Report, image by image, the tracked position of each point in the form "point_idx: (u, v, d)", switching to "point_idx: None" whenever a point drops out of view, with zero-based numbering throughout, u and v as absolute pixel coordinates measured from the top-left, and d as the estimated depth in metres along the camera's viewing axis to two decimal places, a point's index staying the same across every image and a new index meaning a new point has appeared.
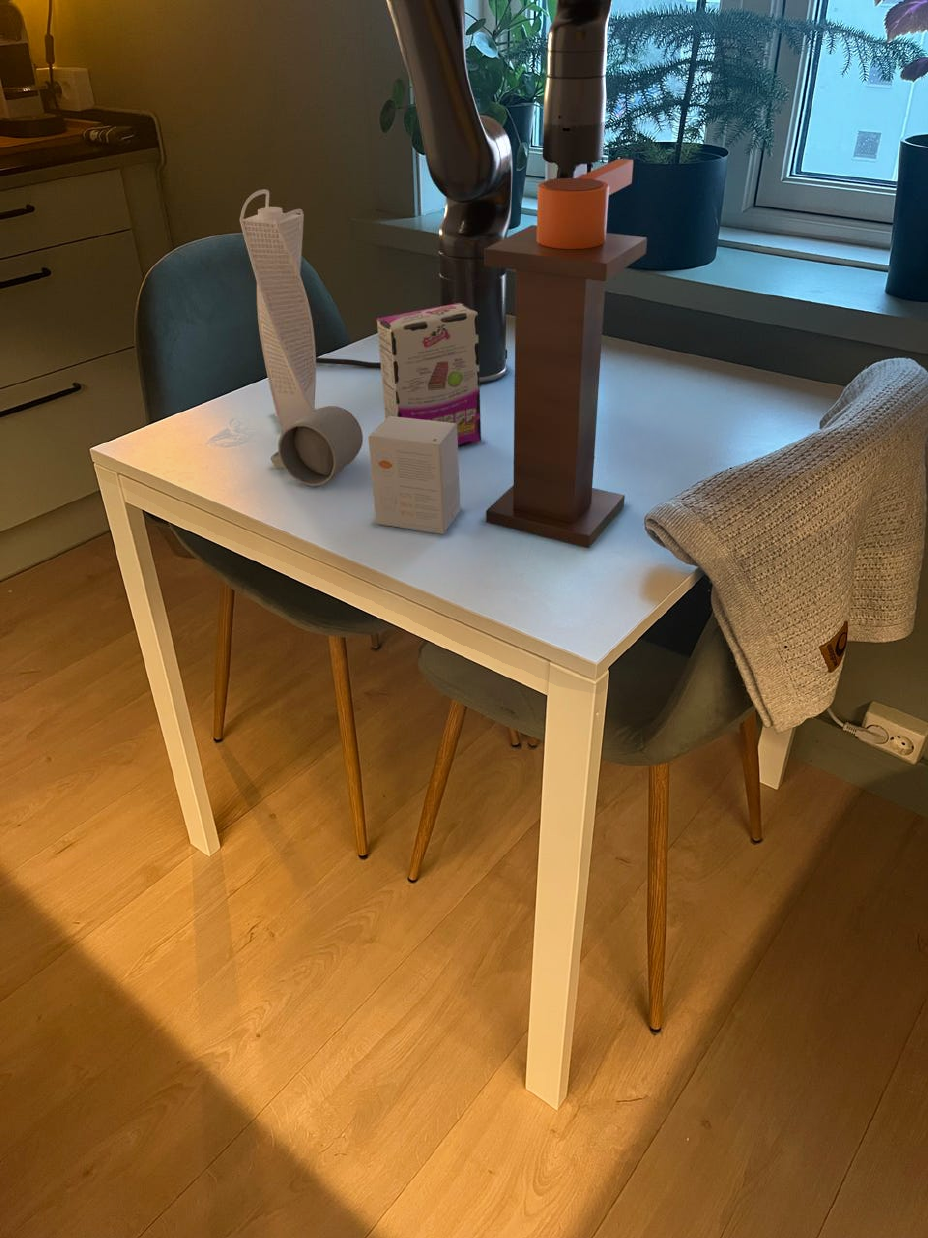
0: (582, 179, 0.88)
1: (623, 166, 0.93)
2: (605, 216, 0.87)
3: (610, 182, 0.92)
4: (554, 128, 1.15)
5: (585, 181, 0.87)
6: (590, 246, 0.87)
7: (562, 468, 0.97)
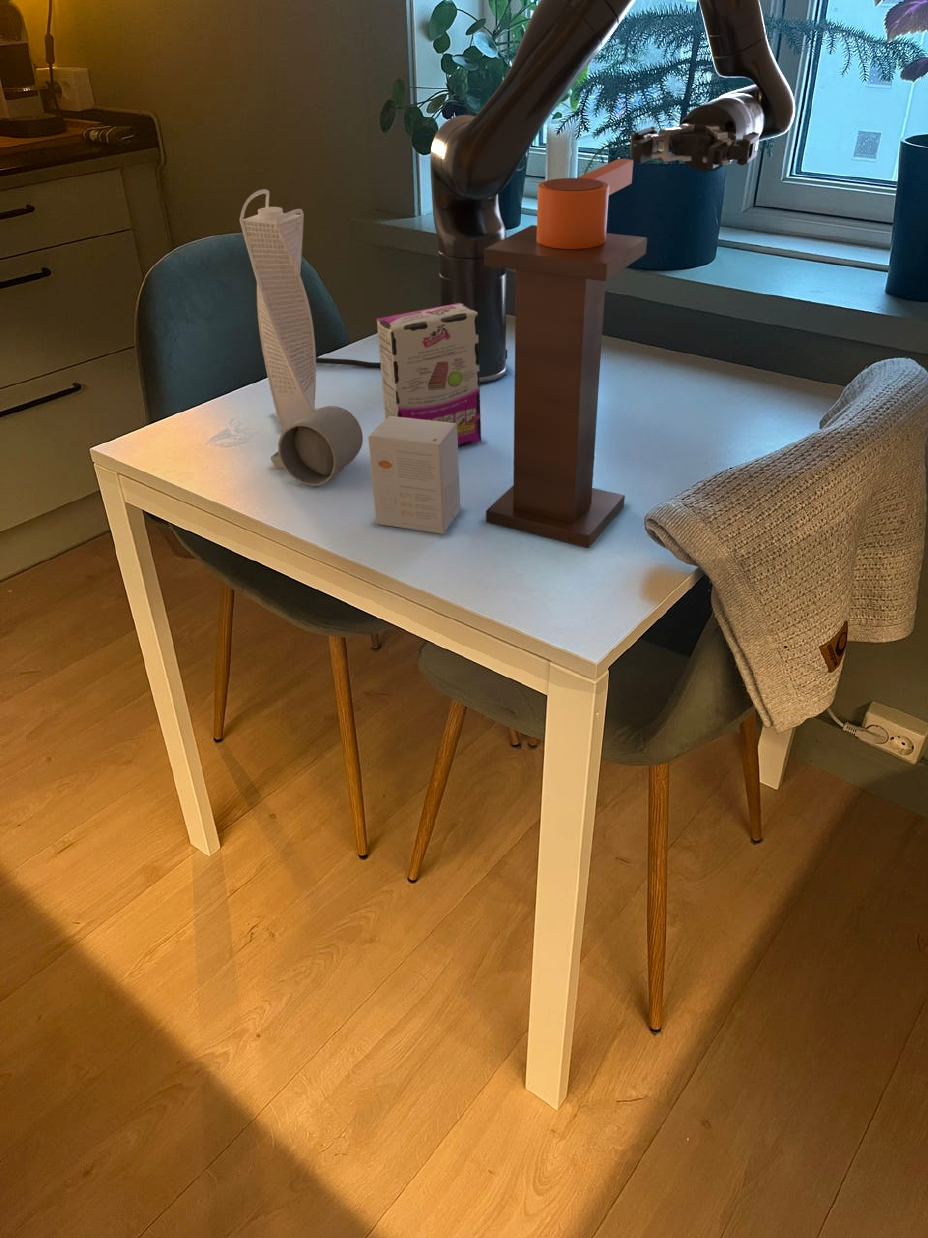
0: (582, 179, 0.88)
1: (623, 166, 0.93)
2: (605, 216, 0.87)
3: (610, 183, 0.92)
4: (744, 121, 1.17)
5: (585, 181, 0.87)
6: (590, 246, 0.87)
7: (562, 468, 0.97)
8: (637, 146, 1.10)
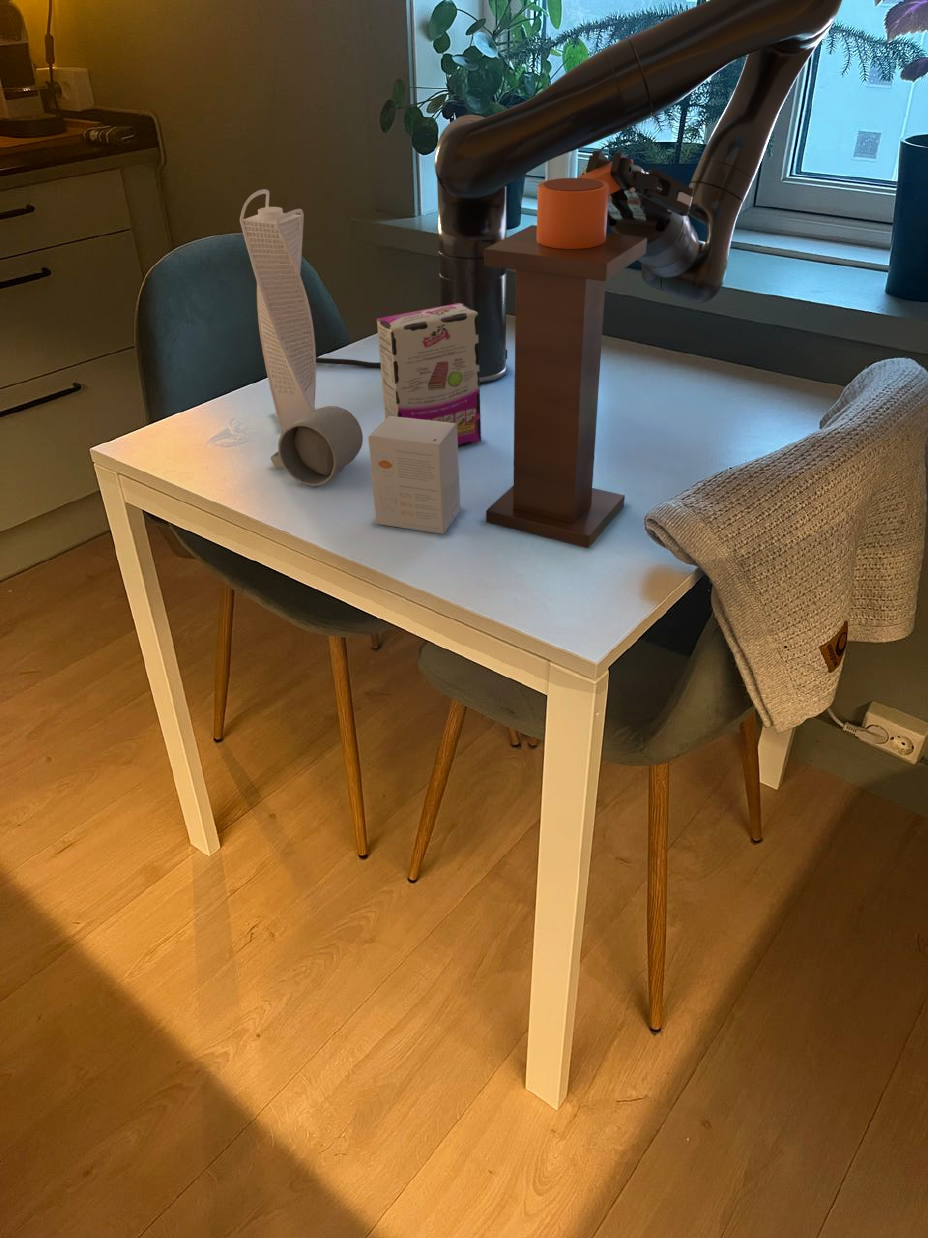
0: (582, 179, 0.88)
1: None
2: (605, 216, 0.87)
3: (610, 182, 0.92)
4: None
5: (585, 181, 0.87)
6: (590, 246, 0.87)
7: (562, 468, 0.97)
8: (594, 152, 0.91)
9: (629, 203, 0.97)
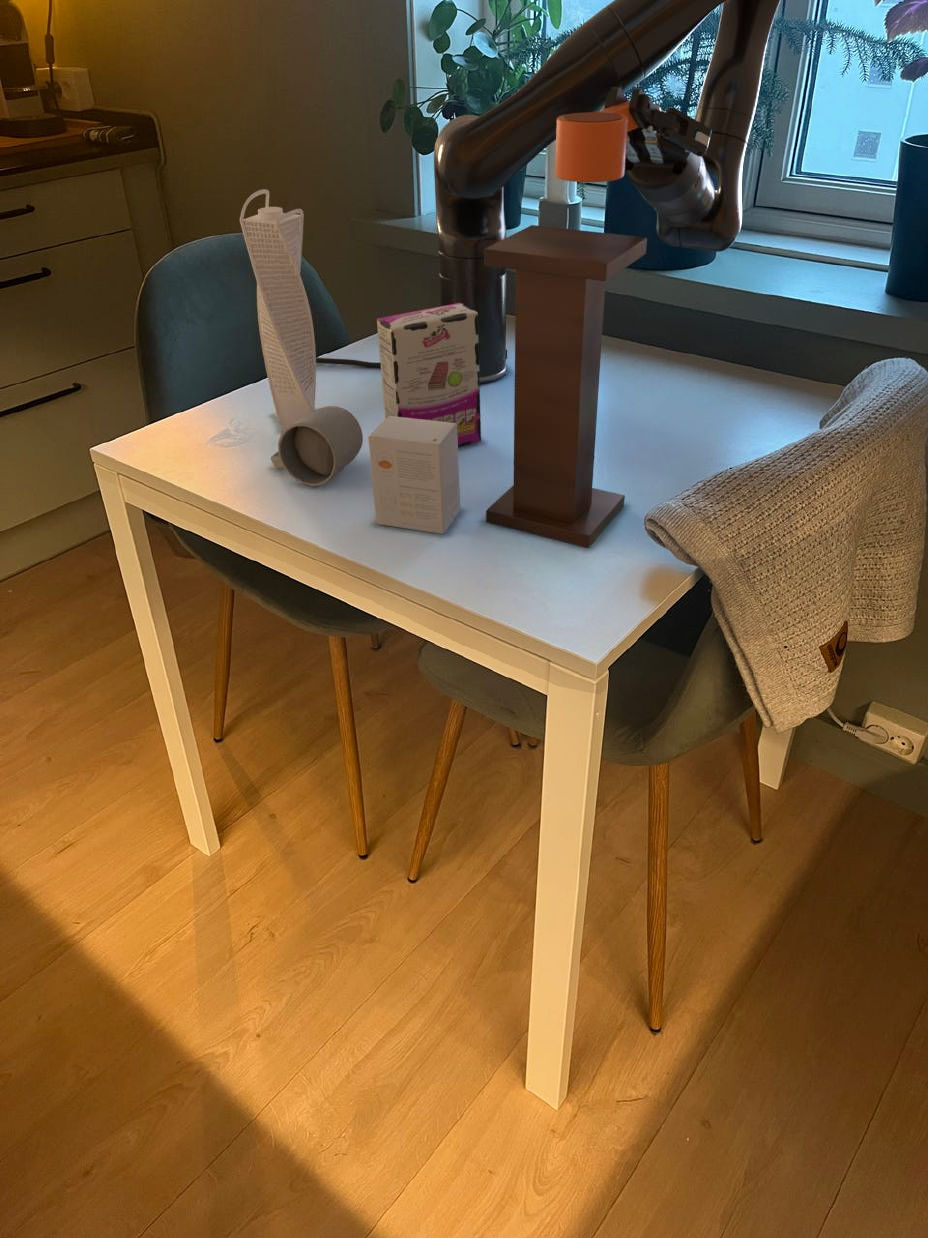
0: (601, 113, 0.88)
1: None
2: (624, 149, 0.87)
3: (628, 119, 0.92)
4: None
5: (604, 114, 0.87)
6: (609, 179, 0.87)
7: (562, 468, 0.97)
8: (613, 89, 0.92)
9: (647, 143, 0.97)
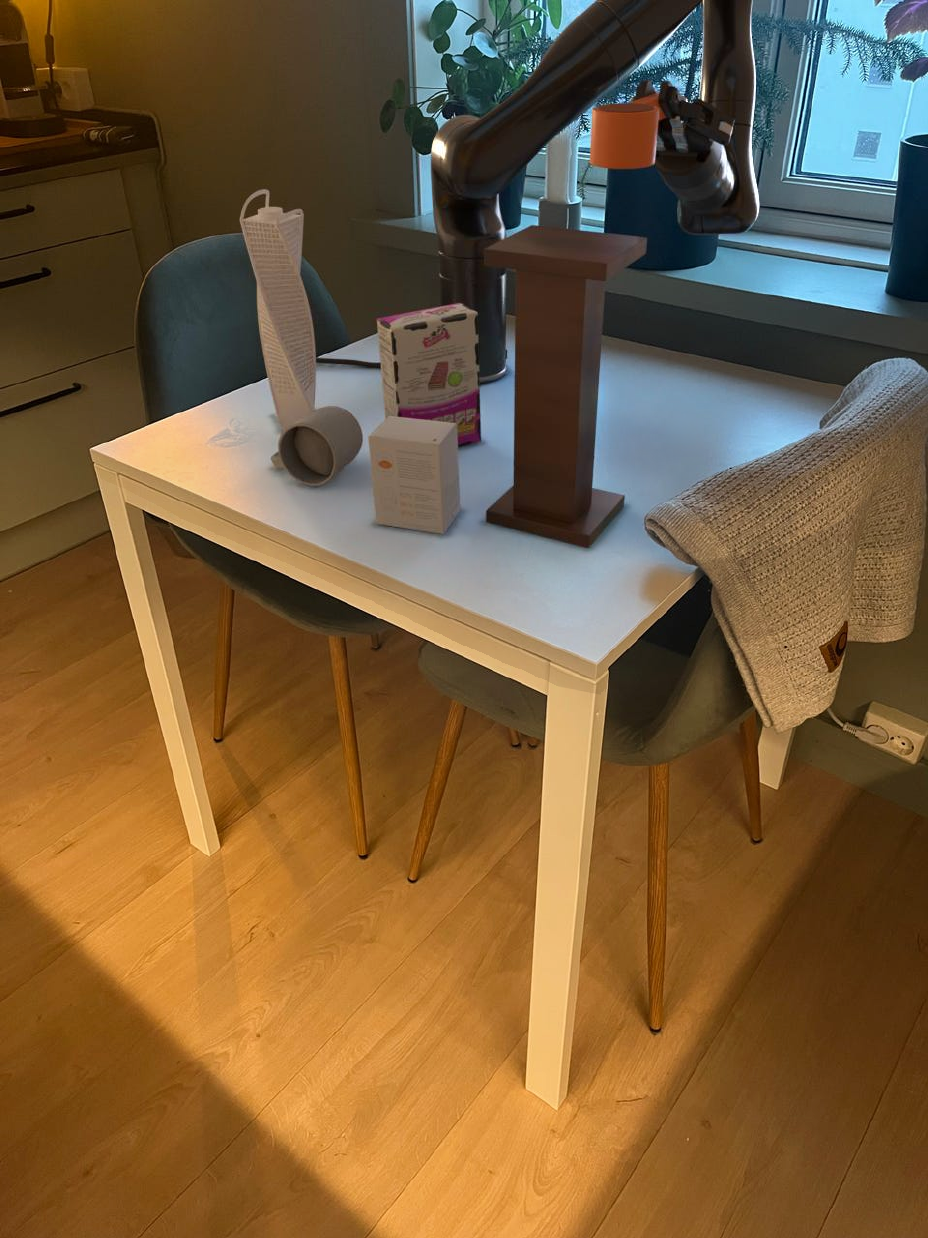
0: (633, 104, 0.93)
1: None
2: (655, 138, 0.92)
3: None
4: None
5: (636, 105, 0.93)
6: (641, 166, 0.92)
7: (562, 468, 0.97)
8: (643, 81, 0.97)
9: (673, 132, 1.02)
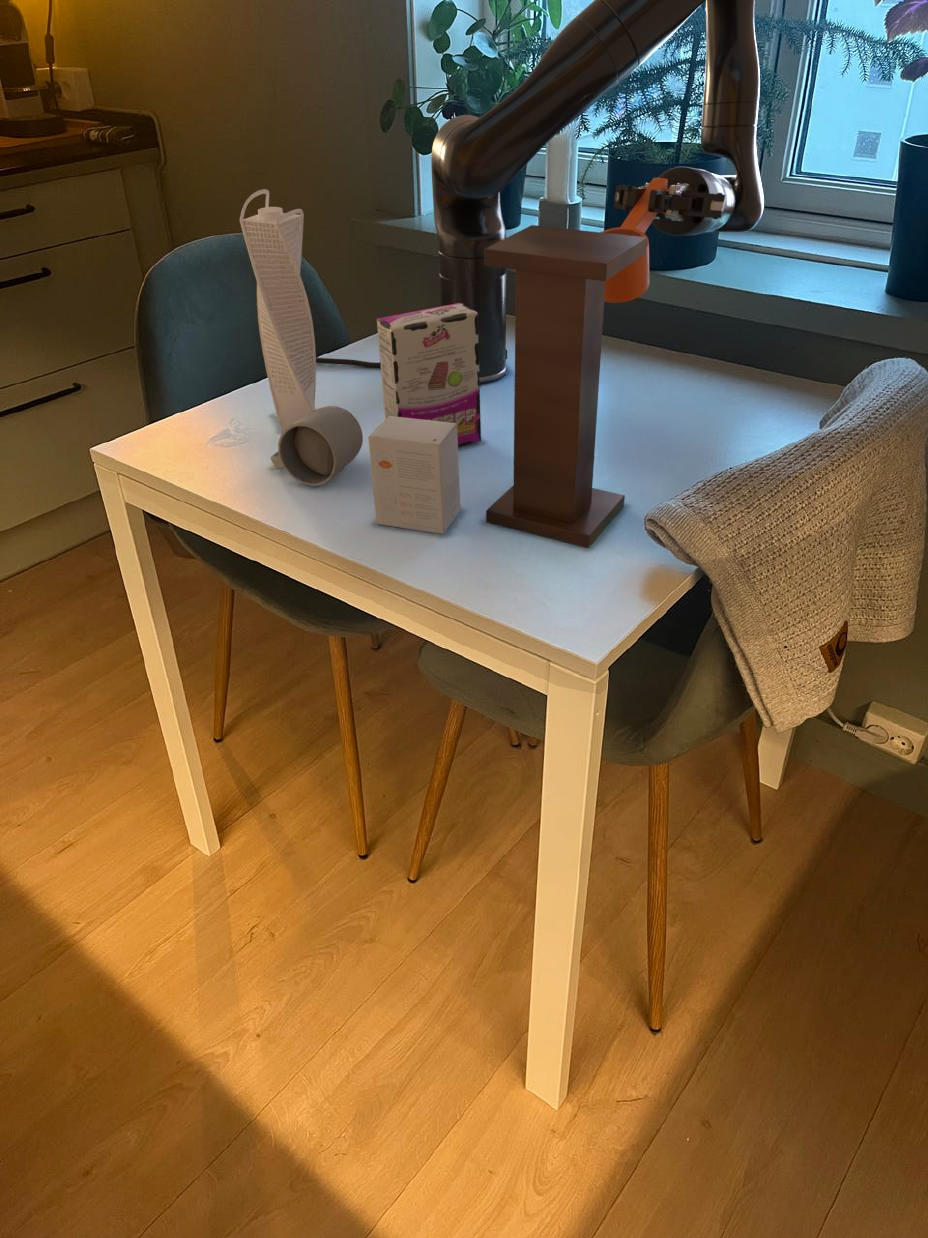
0: (624, 232, 1.00)
1: None
2: (647, 267, 0.99)
3: (648, 217, 1.03)
4: (716, 190, 1.13)
5: None
6: (637, 296, 1.00)
7: (562, 468, 0.97)
8: (632, 191, 1.02)
9: (667, 217, 1.07)
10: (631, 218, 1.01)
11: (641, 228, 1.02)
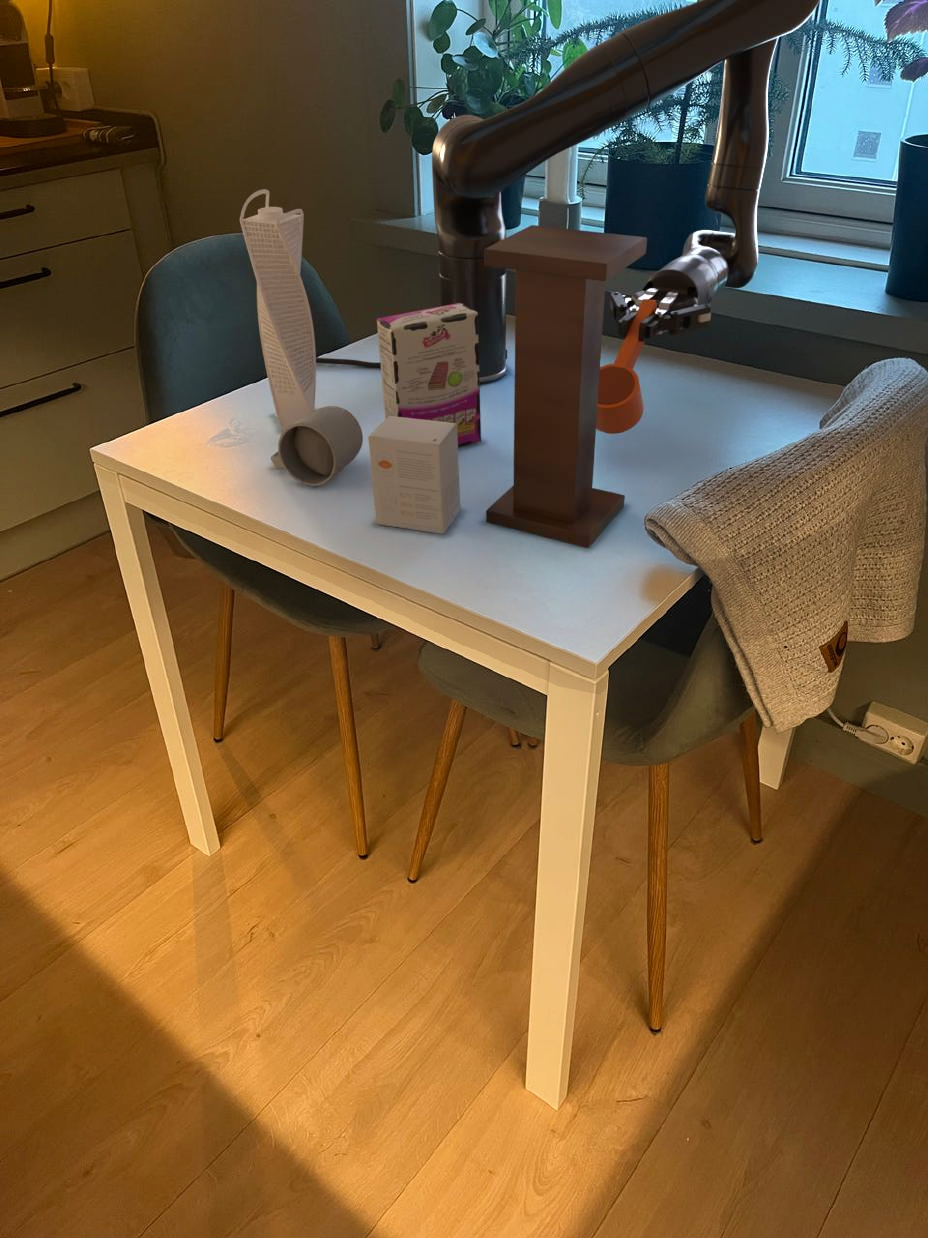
0: (617, 370, 1.10)
1: None
2: (640, 402, 1.10)
3: (640, 344, 1.12)
4: (706, 283, 1.20)
5: (619, 376, 1.09)
6: None
7: (562, 468, 0.97)
8: (622, 323, 1.11)
9: None
10: (623, 352, 1.11)
11: (633, 359, 1.11)
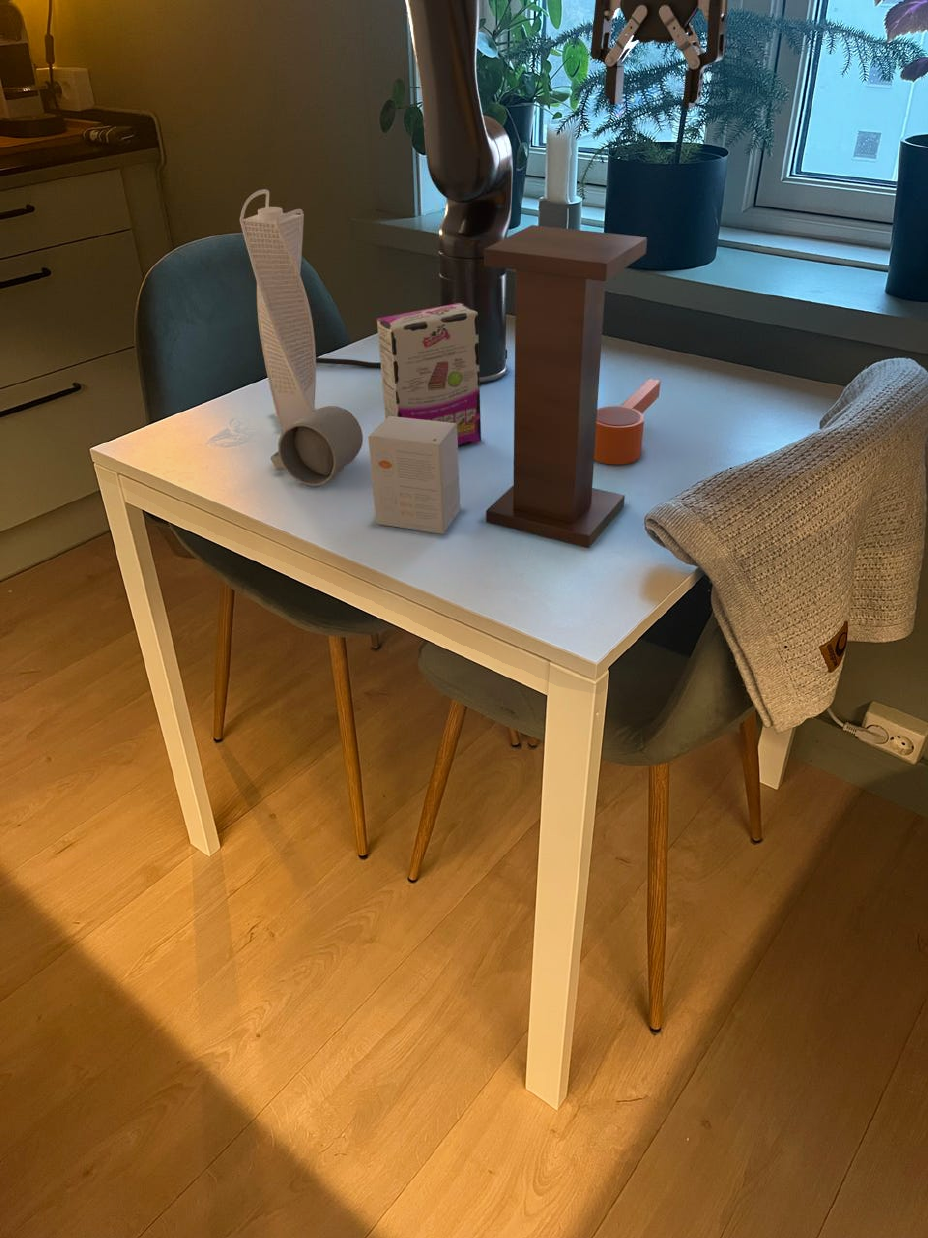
0: (623, 409, 1.16)
1: (653, 389, 1.21)
2: (641, 439, 1.14)
3: (643, 404, 1.20)
4: None
5: (626, 412, 1.15)
6: (629, 462, 1.15)
7: (562, 468, 0.97)
8: (611, 104, 1.08)
9: None
10: (629, 401, 1.18)
11: None
